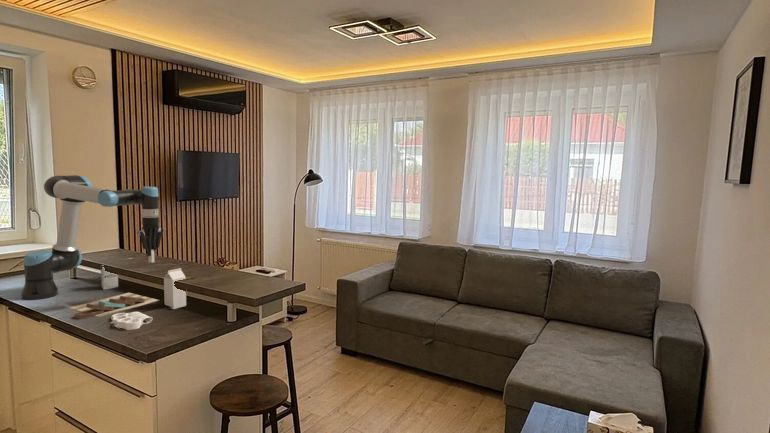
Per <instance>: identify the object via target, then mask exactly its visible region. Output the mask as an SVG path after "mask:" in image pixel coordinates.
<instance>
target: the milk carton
mask: <svg viewBox="0 0 770 433" xmlns="http://www.w3.org/2000/svg"><path fill="white" fill-rule="evenodd" d="M186 278H187V277H186V275H185V273H184V272H183V270H182V268H181V267H177V268H175V269H169V270H167V273H166V274H165V276H164V277H163V288H164V289H163V292H164V295H163V296H164V297H163V298H164V305H165V306H168V309H172V310H176V309H179V308H183V307H186V306H187V291H186V292H185V291H183V290H180V289H177V288H176V287H175V286H174V285H175V284H174V282H175V281H178V280H183V279H186Z"/></svg>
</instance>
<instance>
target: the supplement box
mask: <svg viewBox="0 0 770 433" xmlns="http://www.w3.org/2000/svg"><path fill="white" fill-rule="evenodd" d="M100 276H101V289H103V290H109V289H115V288H118V287H119V274H118V275H117V274H114V273H110V272H107V271H105V268H104V267H102V269H101V268H100Z"/></svg>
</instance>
